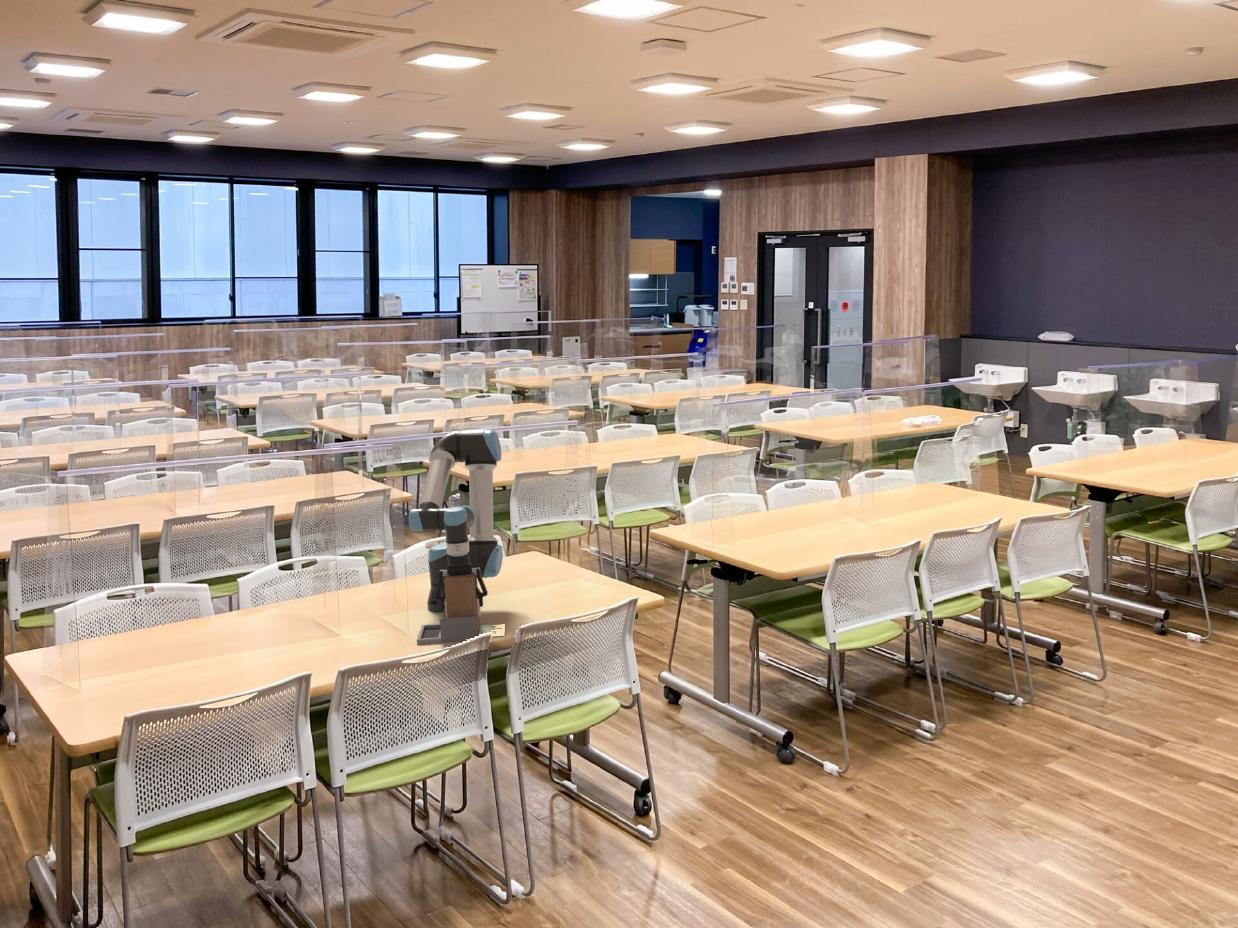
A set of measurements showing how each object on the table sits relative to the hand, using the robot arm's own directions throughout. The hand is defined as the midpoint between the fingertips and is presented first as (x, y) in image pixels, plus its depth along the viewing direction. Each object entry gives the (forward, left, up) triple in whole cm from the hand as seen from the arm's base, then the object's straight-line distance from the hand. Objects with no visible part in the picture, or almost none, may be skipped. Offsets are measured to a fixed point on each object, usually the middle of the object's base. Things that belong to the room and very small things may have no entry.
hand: (463, 617), depth 396 cm
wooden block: (-1, 0, -5) cm, 5 cm away
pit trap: (0, -11, -6) cm, 13 cm away
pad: (0, +9, -6) cm, 11 cm away
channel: (0, -1, -6) cm, 6 cm away
